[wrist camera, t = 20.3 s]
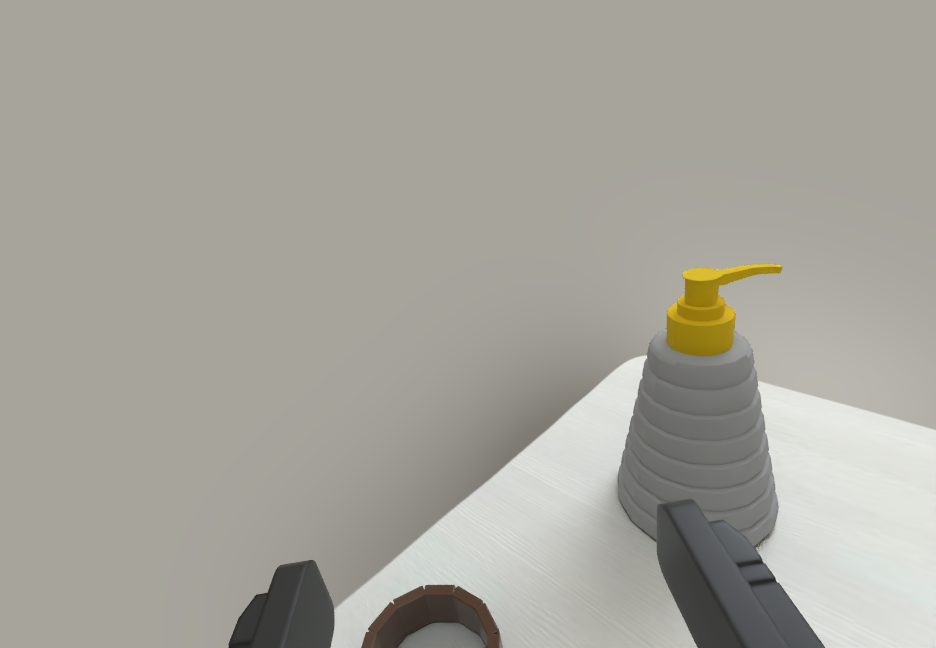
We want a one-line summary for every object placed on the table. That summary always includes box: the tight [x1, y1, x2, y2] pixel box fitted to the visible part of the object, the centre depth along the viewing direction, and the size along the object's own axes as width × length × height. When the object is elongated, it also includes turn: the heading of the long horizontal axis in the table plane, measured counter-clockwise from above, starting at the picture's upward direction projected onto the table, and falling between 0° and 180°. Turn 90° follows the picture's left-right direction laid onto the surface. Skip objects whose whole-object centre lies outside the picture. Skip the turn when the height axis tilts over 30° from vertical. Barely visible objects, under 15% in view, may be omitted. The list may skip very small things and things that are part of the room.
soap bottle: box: [618, 264, 782, 547], centre depth 37 cm, size 12×12×20 cm
